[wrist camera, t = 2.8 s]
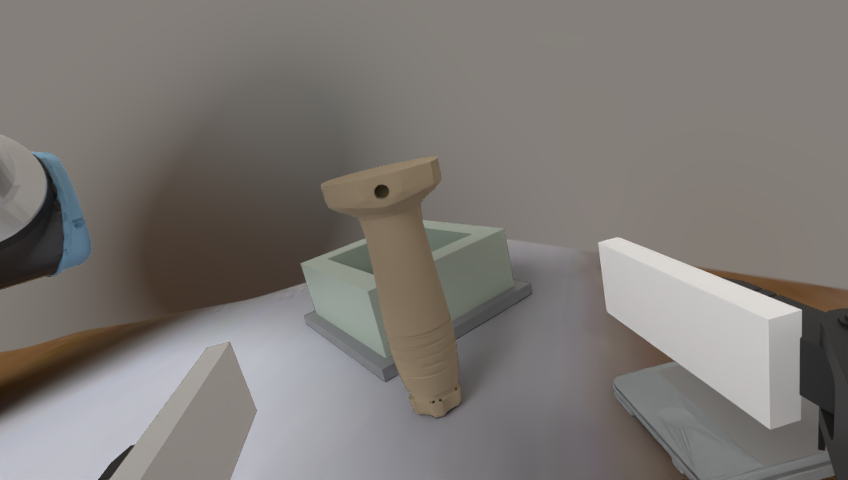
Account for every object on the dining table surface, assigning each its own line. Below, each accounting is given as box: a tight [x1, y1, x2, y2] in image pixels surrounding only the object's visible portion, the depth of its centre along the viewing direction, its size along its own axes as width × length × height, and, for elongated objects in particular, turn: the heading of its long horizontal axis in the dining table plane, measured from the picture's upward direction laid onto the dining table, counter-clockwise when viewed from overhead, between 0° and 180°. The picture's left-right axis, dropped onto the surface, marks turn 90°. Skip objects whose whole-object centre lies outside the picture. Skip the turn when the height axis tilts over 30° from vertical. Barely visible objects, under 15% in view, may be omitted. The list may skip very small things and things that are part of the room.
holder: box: [301, 220, 532, 382], centre depth 40 cm, size 16×16×6 cm
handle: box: [321, 156, 462, 418], centre depth 25 cm, size 5×6×15 cm
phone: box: [613, 361, 835, 480], centre depth 21 cm, size 8×16×1 cm, turn 95°
